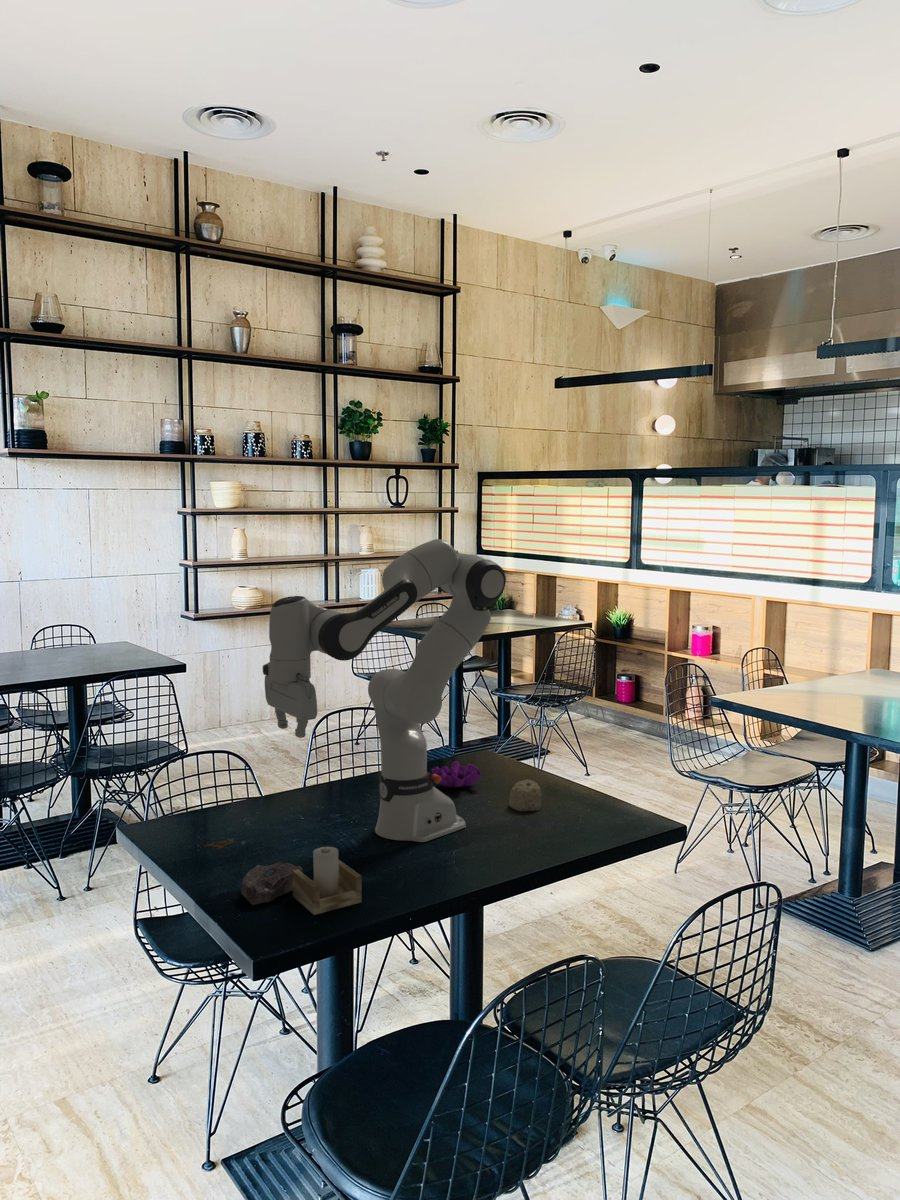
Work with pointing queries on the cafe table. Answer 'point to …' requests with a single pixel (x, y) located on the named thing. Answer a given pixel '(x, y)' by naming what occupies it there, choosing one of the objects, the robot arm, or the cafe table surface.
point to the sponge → (525, 796)
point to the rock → (268, 882)
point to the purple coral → (457, 775)
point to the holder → (348, 895)
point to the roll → (326, 871)
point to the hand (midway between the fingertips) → (291, 732)
